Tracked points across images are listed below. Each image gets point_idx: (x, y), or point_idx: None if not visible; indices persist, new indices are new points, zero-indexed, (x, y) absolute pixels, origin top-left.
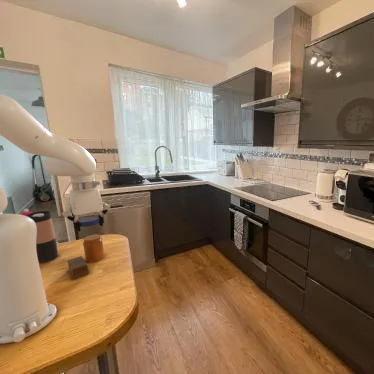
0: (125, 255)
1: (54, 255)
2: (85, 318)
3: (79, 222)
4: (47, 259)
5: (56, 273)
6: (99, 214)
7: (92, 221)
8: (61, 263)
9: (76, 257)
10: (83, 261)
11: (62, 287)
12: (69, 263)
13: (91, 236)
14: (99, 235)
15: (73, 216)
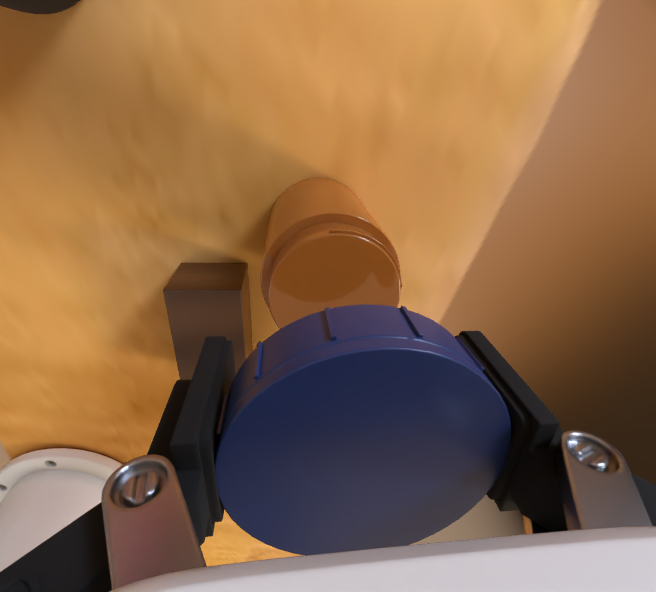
0: (434, 316)
1: None
2: (210, 537)
3: (226, 501)
4: (23, 10)
5: (121, 258)
6: (553, 488)
7: (367, 547)
8: (138, 140)
9: (212, 290)
10: (239, 363)
11: (156, 392)
12: (173, 339)
13: (336, 275)
14: (392, 300)
15: (110, 561)
